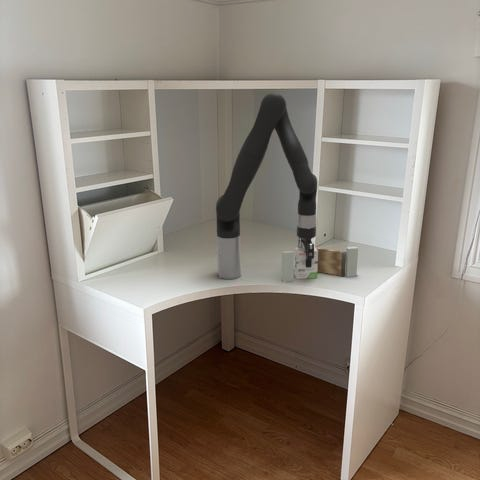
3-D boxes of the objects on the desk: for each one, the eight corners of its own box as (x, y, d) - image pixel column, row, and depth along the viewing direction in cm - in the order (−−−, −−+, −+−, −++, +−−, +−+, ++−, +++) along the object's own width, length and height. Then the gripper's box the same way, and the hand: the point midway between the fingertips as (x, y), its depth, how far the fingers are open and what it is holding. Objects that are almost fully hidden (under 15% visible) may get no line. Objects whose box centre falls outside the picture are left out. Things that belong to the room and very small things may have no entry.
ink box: (314, 273, 201) (315, 246, 198) (317, 278, 197) (318, 250, 193) (294, 274, 201) (294, 247, 197) (296, 279, 196) (296, 251, 193)
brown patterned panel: (299, 268, 206) (299, 246, 203) (301, 266, 208) (301, 244, 205) (344, 276, 197) (345, 253, 194) (346, 274, 199) (347, 251, 196)
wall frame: (283, 281, 194) (283, 253, 190) (282, 279, 196) (282, 251, 192) (356, 276, 198) (358, 248, 194) (354, 274, 200) (356, 246, 196)
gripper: (292, 220, 198) (292, 258, 203) (302, 230, 185) (301, 270, 190) (310, 219, 199) (309, 256, 204) (321, 229, 186) (319, 269, 191)
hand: (305, 263), depth 197 cm, fingers open, 8 cm apart
